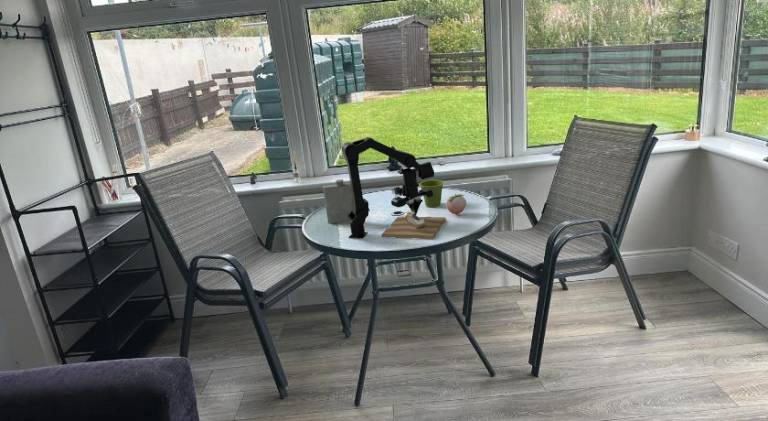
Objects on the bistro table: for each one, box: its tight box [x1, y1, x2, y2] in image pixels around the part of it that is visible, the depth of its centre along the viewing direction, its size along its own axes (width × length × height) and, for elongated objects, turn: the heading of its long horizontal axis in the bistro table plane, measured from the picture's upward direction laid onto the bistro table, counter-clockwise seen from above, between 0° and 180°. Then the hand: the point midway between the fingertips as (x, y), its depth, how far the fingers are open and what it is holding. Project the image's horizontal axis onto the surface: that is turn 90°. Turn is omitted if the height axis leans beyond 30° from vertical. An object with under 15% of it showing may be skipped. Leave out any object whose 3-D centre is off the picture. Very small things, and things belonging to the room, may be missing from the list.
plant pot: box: [418, 179, 445, 208], centre depth 244 cm, size 12×12×11 cm
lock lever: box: [404, 211, 424, 228], centre depth 218 cm, size 14×4×3 cm, turn 23°
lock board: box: [381, 216, 447, 240], centre depth 217 cm, size 22×22×2 cm
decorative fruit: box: [445, 193, 467, 216], centre depth 227 cm, size 9×8×10 cm
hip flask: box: [322, 178, 353, 225], centre depth 233 cm, size 16×4×20 cm, turn 80°
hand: (414, 216), depth 221 cm, fingers closed
